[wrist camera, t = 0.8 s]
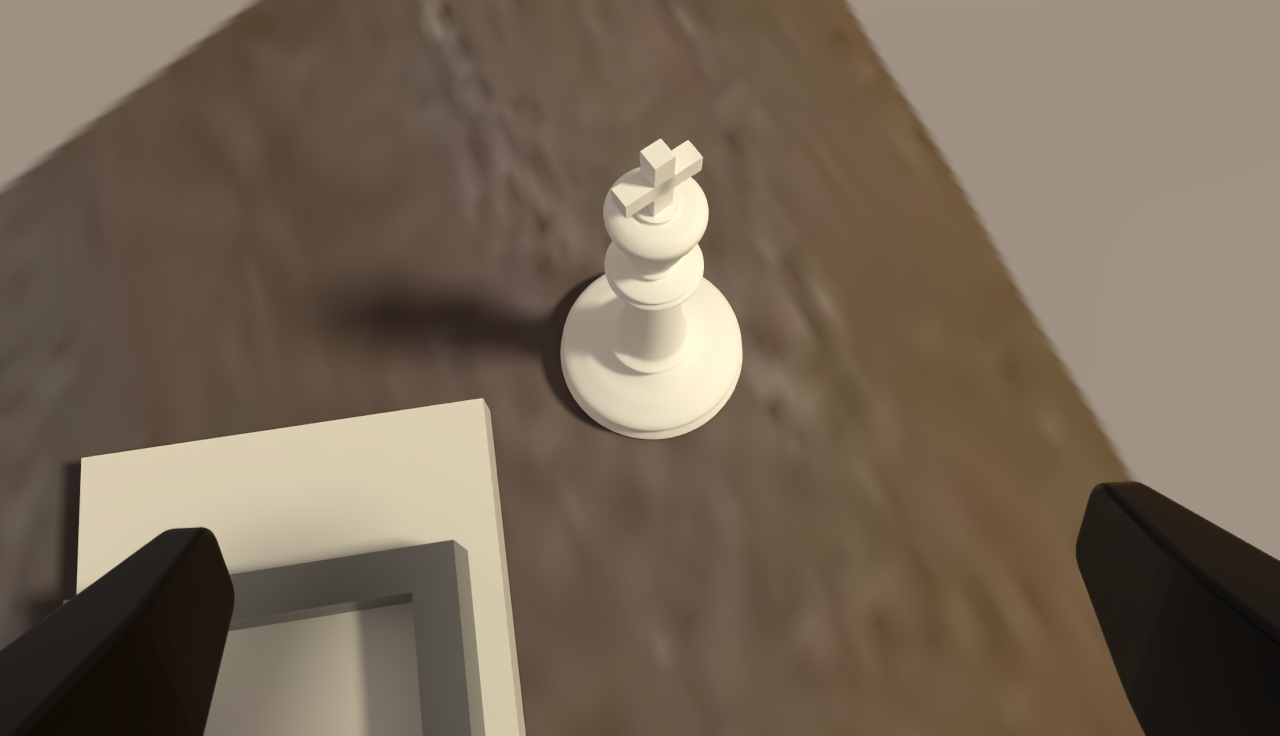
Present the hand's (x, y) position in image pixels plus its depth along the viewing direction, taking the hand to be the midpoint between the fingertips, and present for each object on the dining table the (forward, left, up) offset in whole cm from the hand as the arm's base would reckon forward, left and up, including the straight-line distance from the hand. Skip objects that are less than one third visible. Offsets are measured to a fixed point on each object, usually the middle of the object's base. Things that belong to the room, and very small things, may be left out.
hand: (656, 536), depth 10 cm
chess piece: (+7, -1, -14) cm, 16 cm away
